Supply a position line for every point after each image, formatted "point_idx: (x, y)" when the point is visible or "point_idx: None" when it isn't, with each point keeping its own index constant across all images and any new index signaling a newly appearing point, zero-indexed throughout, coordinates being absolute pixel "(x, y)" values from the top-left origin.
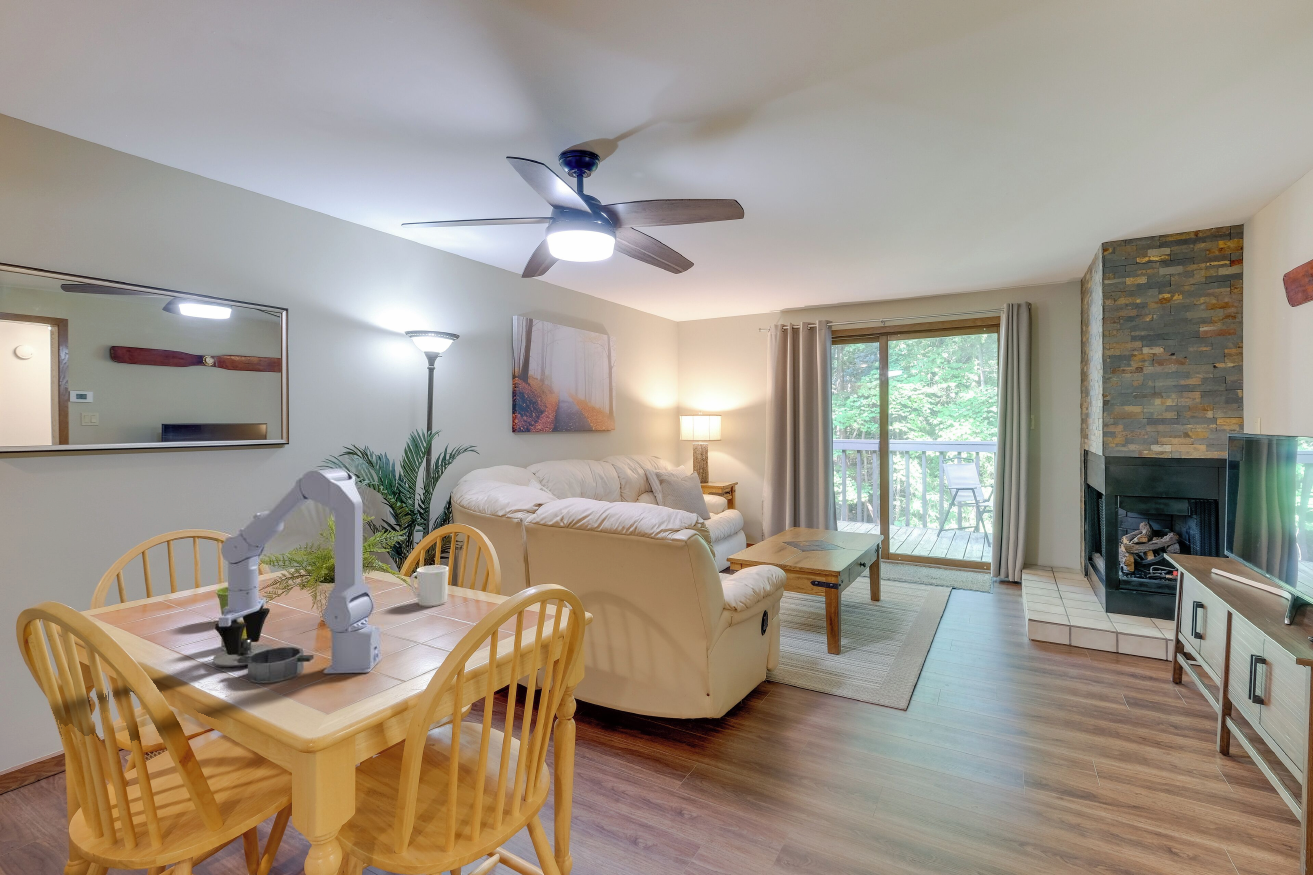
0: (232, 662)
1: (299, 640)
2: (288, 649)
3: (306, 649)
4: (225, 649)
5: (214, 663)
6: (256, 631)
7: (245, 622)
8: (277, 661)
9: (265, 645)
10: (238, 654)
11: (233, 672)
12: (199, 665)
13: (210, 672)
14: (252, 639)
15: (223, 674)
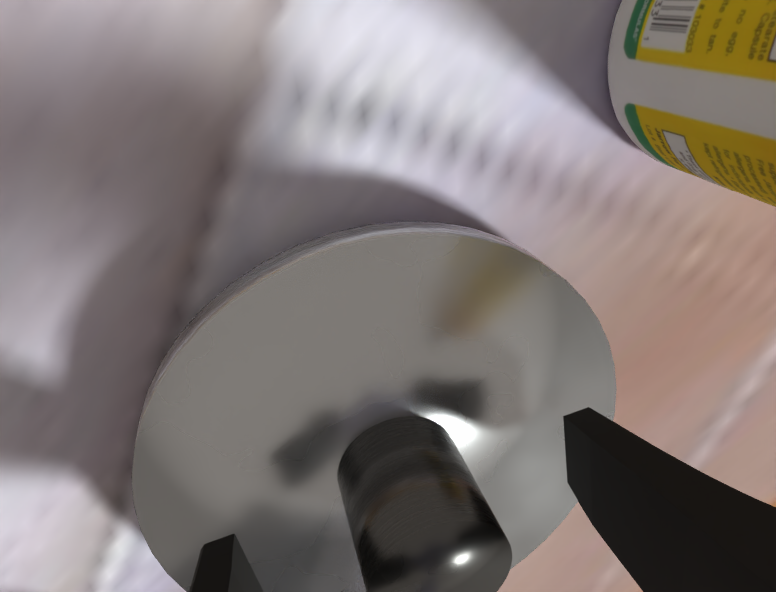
0: (173, 568)
1: (770, 434)
2: None
3: (603, 586)
4: (613, 32)
5: (158, 372)
6: (638, 564)
7: (742, 581)
8: None
9: None
10: (337, 482)
11: (140, 553)
12: (169, 128)
13: (62, 402)
14: (581, 467)
15: (74, 528)
